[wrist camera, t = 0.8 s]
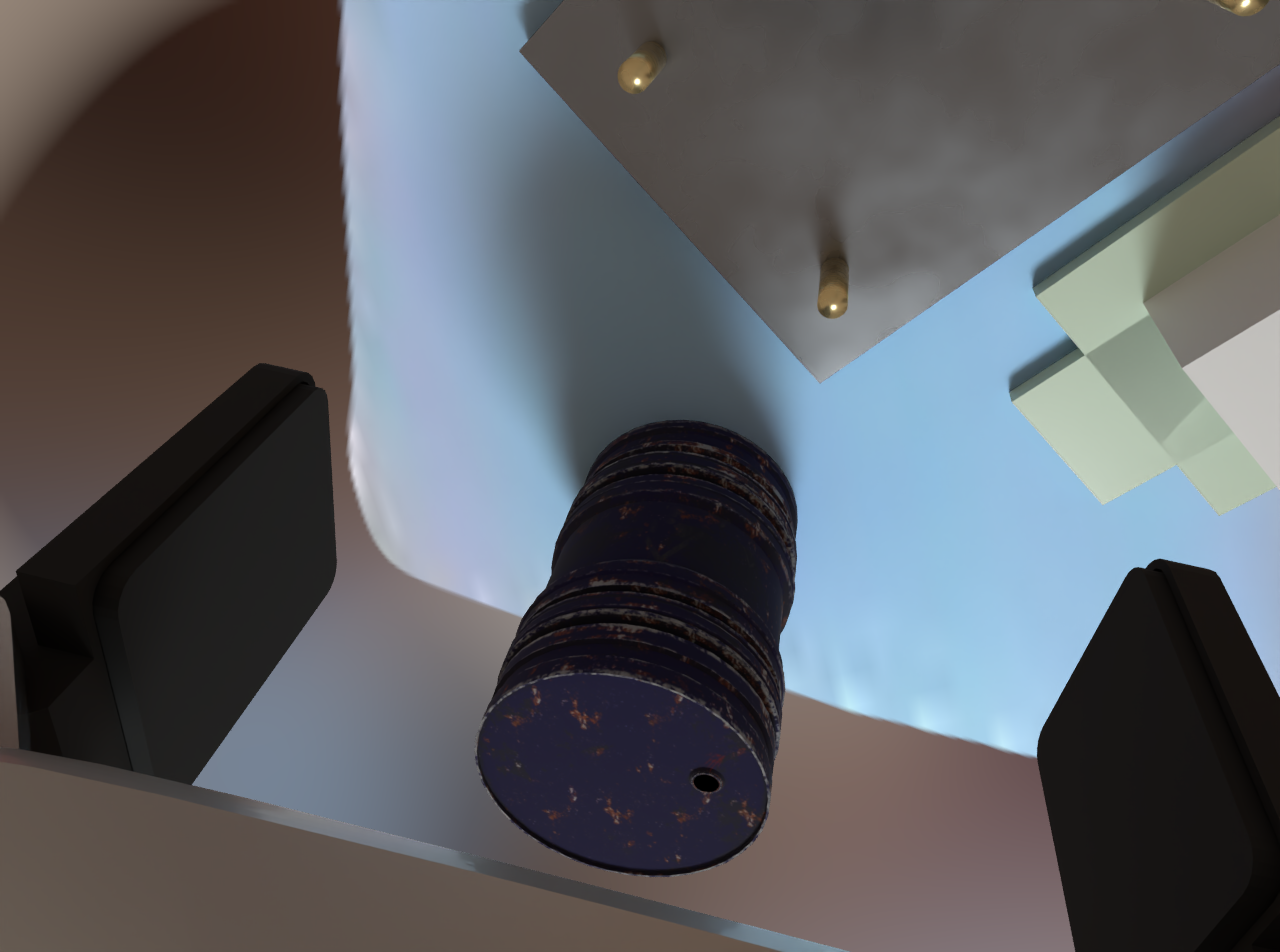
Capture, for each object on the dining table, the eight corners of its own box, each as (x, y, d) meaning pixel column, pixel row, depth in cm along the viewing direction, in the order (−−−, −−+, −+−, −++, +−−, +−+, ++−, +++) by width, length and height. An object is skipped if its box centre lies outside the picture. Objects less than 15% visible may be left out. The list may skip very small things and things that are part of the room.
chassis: (1062, -557, 23) (1096, -625, 20) (1370, -18, 28) (1441, 2, 25) (529, 44, 33) (490, 68, 30) (821, 369, 38) (816, 422, 34)
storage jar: (608, 603, 47) (517, 873, 35) (556, 429, 42) (429, 673, 30) (814, 593, 44) (795, 884, 32) (784, 406, 39) (749, 665, 27)
